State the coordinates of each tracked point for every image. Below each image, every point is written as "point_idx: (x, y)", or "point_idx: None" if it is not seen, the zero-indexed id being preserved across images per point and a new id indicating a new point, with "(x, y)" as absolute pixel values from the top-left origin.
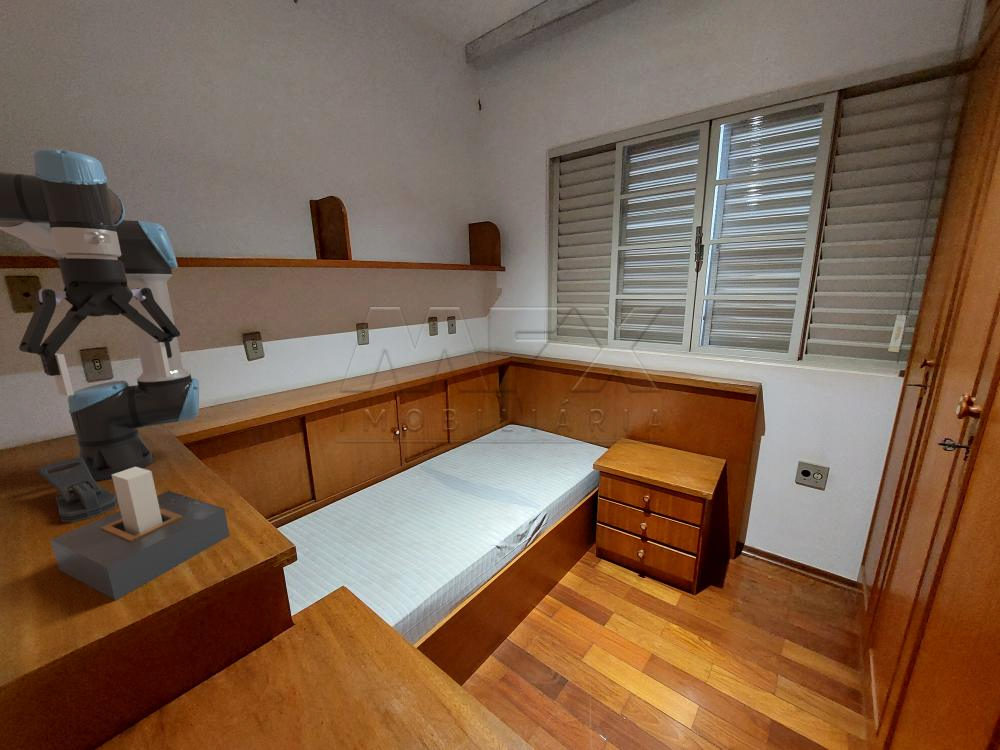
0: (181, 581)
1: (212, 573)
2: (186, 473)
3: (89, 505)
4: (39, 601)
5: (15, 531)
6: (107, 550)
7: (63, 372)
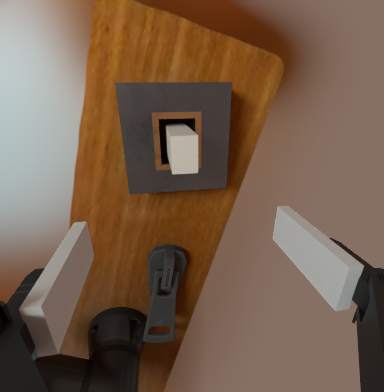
0: (185, 51)
1: (165, 31)
2: None
3: (171, 252)
4: (242, 143)
5: (206, 267)
6: (217, 116)
7: (318, 234)
